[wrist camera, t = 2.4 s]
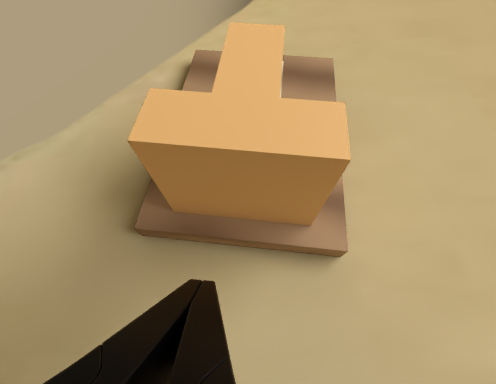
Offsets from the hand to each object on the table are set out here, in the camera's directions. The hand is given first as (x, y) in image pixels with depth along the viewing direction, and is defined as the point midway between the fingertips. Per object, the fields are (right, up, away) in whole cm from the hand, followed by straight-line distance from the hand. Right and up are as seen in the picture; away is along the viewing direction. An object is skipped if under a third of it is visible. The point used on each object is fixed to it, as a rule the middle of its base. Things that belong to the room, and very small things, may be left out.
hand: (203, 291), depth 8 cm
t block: (+2, +6, +12) cm, 13 cm away
